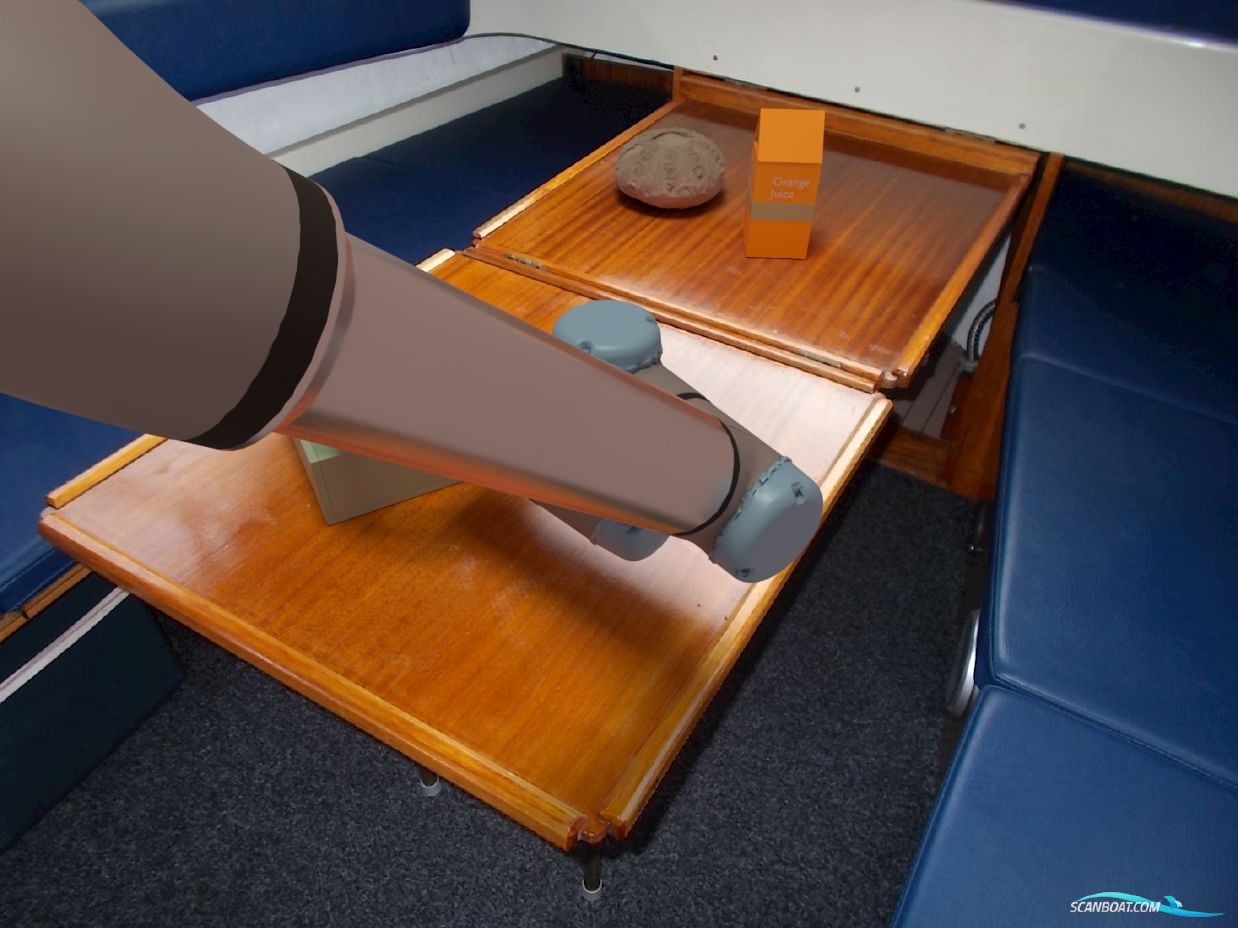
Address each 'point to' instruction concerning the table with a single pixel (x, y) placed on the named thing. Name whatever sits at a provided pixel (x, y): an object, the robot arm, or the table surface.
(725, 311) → the table surface
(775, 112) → the orange juice
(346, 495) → the open box
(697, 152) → the decorative shell
